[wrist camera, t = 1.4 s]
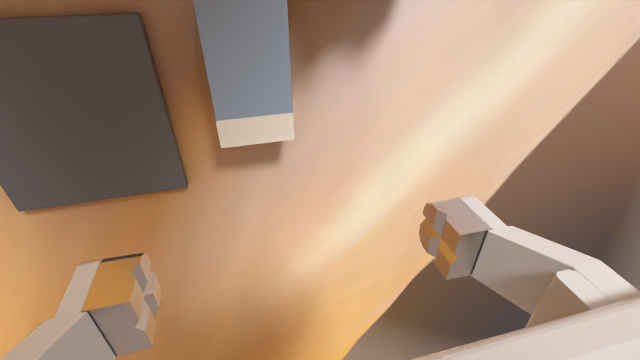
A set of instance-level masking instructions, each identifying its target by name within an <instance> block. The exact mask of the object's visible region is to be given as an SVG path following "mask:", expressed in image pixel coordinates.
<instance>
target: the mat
mask: <svg viewBox="0 0 640 360" xmlns="http://www.w3.org/2000/svg"><path fill="white" fill-rule="evenodd" d="M0 185H1V187H2V188H3V190H4V191H5V192H6V194H7V195H8V197H9V198H10V200H11V201H12V202H13V204H14V205H15V207H16V208H17V210H18V211H19V212H20V211H27V210H34V209H41V208H48V207H55V206H62V205H69V204H76V203H83V202H90V201H97V200H104V199H111V198H118V197H125V196H132V195H139V194H146V193H153V192H160V191H167V190H174V189H181V188H188V181H187V177H186V174H185V170H184V167H183V163H182V159H181V156H180V152H179V149H178V145H177V142H176V138H175V135H174V131H173V128H172V124H171V121H170V117H169V114H168V110H167V107H166V103H165V100H164V96H163V93H162V89H161V86H160V82H159V78H158V75H157V71H156V68H155V64H154V61H153V57H152V54H151V50H150V47H149V43H148V40H147V36H146V33H145V29H144V26H143V22H142V19H141V15H140V13H123V14H98V15H73V16H48V17H23V18H0Z"/></svg>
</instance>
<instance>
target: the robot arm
mask: <svg viewBox="0 0 640 360" xmlns="http://www.w3.org/2000/svg"><path fill="white" fill-rule="evenodd" d="M423 215H424V216H425V217H426V219H425V220H424V221H423V222H422V223H421V224H420V230H419V235H420V241H421V243H422V246H423V248H424V249H425V250H426V252H427V253H428V254H430V255H432V256H434V257H435V264H436V266H437V267H438V269H439V270H440V271H441V273H442V274H443V276H444V277H445V278H446V279H447V280H448V279H453V278H458V277H463V276H468V275H472V277H474V278H476V279H477V280H478V281H480V282H481V283H483V284H484V285H486V286H488V287H489V288H491V289H492V290H494V291H495V292H497V293H498V294H500V295H502V296H503V297H505V298H506V299H508V300H509V301H511V302H513V303H514V304H516V305H517V306H519V307H521V308H522V309H523V310H525V311H527V312H528V313H530V314H531V315H532V316H531V318H530V320H529V322H528V323H527V325H526V328H524V329H520V330H517V331H513V332H509V333H506V334H502V335H499V336H495V337H491V338H488V339H484V340H480V341H477V342H473V343H470V344H466V345H462V346H459V347H455V348H452V349H448V350H445V351H441V352H437V353H434V354H430V355H426V356H423V357H419V358H416V359H412V360H640V291H638V290H637V289H636V288H634V287H633V286H632V285H630V284H629V283H628V282H627V281H626V280H624V279H623V278H622V277H620V276H619V275H618V274H617V273H615V272H614V271H613V270H612V269H610V268H609V267H608V266H607V265H605V264H604V263H603V262H601V261H600V260H597V259H595V258H593V257H590V256H588V255H585V254H582V253H580V252H577V251H575V250H572V249H569V248H567V247H564V246H562V245H560V244H556V243H554V242H552V241H549V240H547V239H544V238H542V237H539V236H537V235H534V234H531V233H529V232H526V231H524V230H521V229H519V228H516V227H513V226H509V227H507V226H506V225H505V224H504V223H503V222H502V221H501V220H500V219H499V218H497V216H495V215H494V214H493V213H492V212H491V211H490V210H489V209H488V208H487V207H486V206H485V205H483V204H482V203H481V202H480V201H479V200H478V199H477V198H476V197H474V196H472V195H468V196H463V197H457V198H453V199H448V200H442V201H437V202H431V203H427V204H426V205H425V207H424V210H423ZM151 264H152V262H151V260H150V258H149V256H148V254H146V253H140V254H133V255H127V256H120V257H113V258H107V259H103V260H97V261H90V262H83V263H81V264H80V265H79V266H77V268H76V270H75V272H74V274H73V276H72V278H71V281H70V283H69V285H68V287H67V289H66V292H65V294H64V296H63V298H62V300H61V302H60V305H59V307H58V309H57V311H56V313H55V316H54V318H52V319H48V320H45V321H44V322H43V323H42V324H41V325H40V326H38V327H37V328H36V329H35V330H34V331H33V332H31V333H30V334H29V335H28V336H27V337H26V338H24V339H23V340H22V341H21V342H20V343H19V344H17V345H16V346H15V347H14V348H13V349H12V350H10V351H9V352H8V353H7V354H6V355H5V356H3V357H2V358H1V359H0V360H116V359H117V358H116V357H117V356H121V355H125V354H129V353H132V352H136V351H140V350H144V349H148V348H152V347H153V345H154V339H155V333H156V327H157V322H156V320H155V318H154V315H155V313H156V312H157V311H158V310H159V309H160V302H161V288H160V283H159V280H158V277H157V274H155V273H153V272H151V271H150V268H151Z"/></svg>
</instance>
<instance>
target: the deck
mask: <svg viewBox="0 0 640 360" xmlns="http://www.w3.org/2000/svg"><path fill="white" fill-rule="evenodd" d="M192 1H193V6H194V11H195V16H196V22H197V27H198V32H199V37H200V42H201V47H202V52H203V57H204V62H205V67H206V72H207V78H208V83H209V88H210V93H211V98H212V103H213V108H214V113H215V118H216V126H217V131H218V136H219V141H220V146H221V148H229V147H237V146H245V145H254V144H262V143H270V142H278V141H286V140H295V138H294V118H293V107H292V87H291V67H290V47H289V27H288V7H287V0H192Z"/></svg>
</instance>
